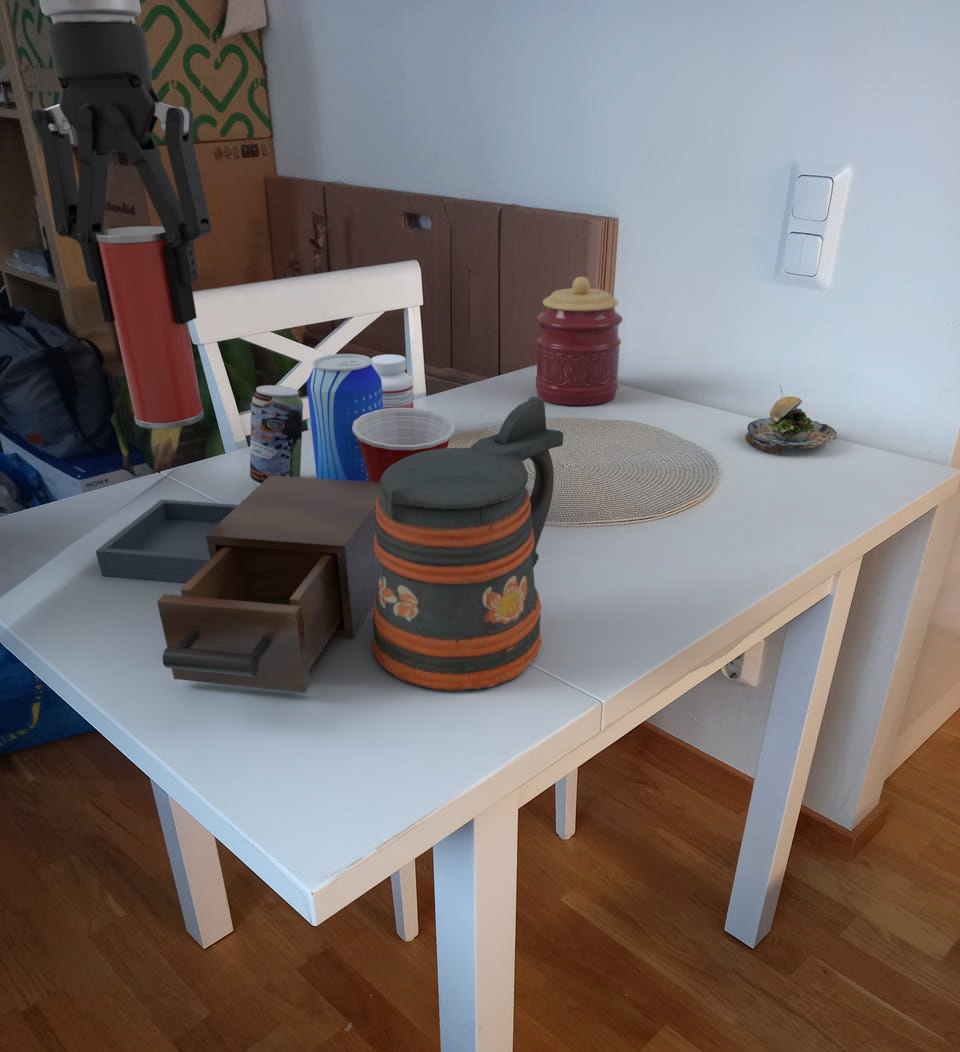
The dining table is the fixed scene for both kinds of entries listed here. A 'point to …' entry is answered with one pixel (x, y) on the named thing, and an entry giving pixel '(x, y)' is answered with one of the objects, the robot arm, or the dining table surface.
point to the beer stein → (463, 557)
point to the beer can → (341, 413)
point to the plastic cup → (399, 436)
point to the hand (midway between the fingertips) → (150, 319)
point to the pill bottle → (394, 381)
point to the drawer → (253, 618)
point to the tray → (163, 542)
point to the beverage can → (275, 432)
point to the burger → (788, 429)
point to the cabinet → (313, 532)
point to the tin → (149, 328)
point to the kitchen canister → (578, 346)
